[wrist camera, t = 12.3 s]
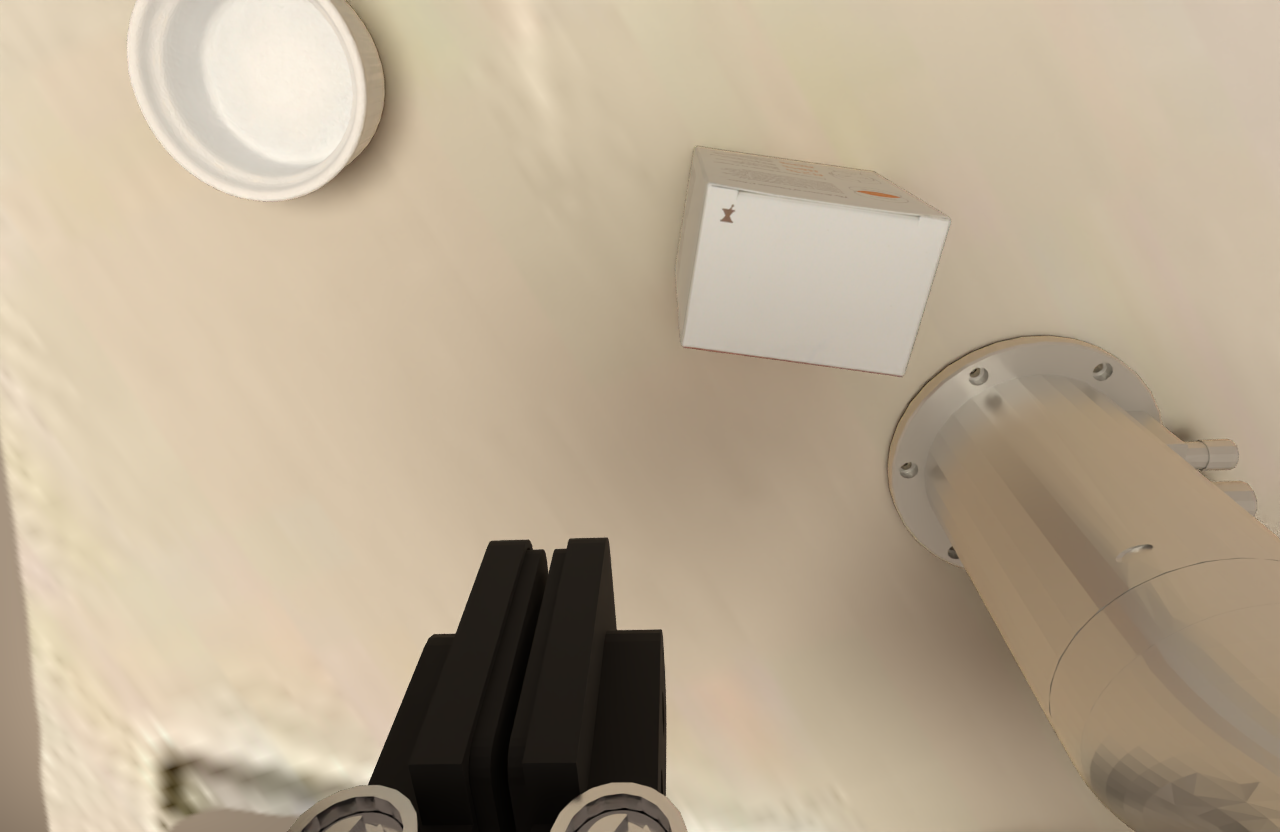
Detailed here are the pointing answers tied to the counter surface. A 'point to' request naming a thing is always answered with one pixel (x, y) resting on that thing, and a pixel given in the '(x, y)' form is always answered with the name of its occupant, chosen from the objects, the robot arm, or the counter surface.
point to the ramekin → (256, 90)
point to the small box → (803, 262)
